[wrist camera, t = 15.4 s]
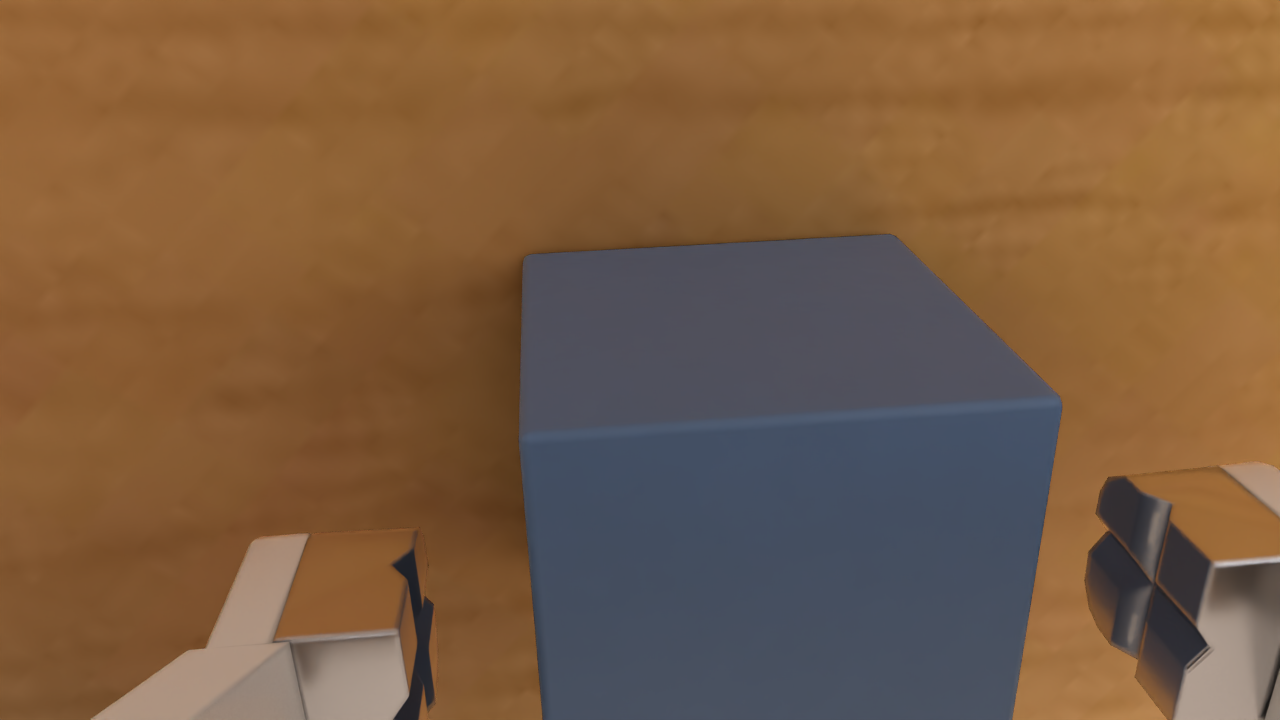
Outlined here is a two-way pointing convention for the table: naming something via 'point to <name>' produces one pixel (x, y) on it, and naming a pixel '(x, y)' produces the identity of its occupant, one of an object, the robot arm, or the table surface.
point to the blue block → (775, 485)
